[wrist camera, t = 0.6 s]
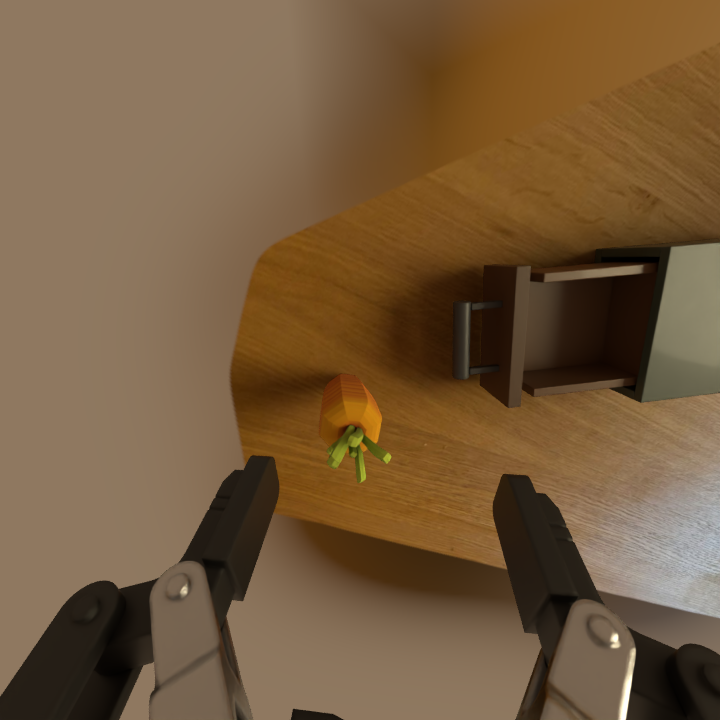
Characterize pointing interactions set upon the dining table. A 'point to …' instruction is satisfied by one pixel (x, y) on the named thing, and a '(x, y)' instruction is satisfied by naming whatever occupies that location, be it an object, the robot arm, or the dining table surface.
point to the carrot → (350, 423)
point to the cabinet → (677, 320)
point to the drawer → (556, 328)
